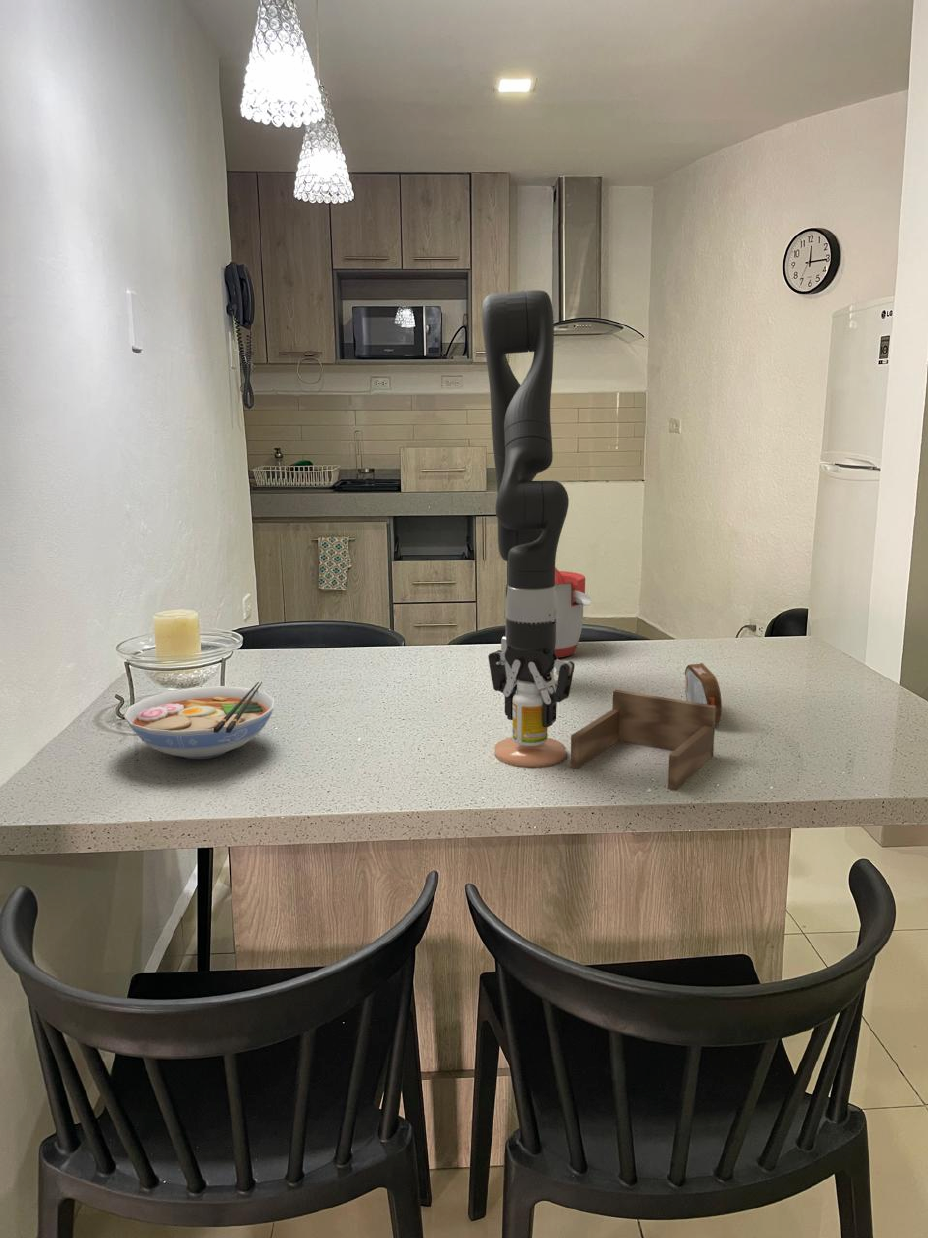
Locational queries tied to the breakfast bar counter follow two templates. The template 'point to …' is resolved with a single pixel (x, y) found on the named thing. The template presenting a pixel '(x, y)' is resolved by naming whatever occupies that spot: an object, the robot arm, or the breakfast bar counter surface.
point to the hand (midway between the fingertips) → (530, 721)
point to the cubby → (652, 732)
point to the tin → (703, 687)
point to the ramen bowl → (200, 719)
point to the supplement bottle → (528, 715)
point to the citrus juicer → (569, 610)
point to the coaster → (530, 753)
